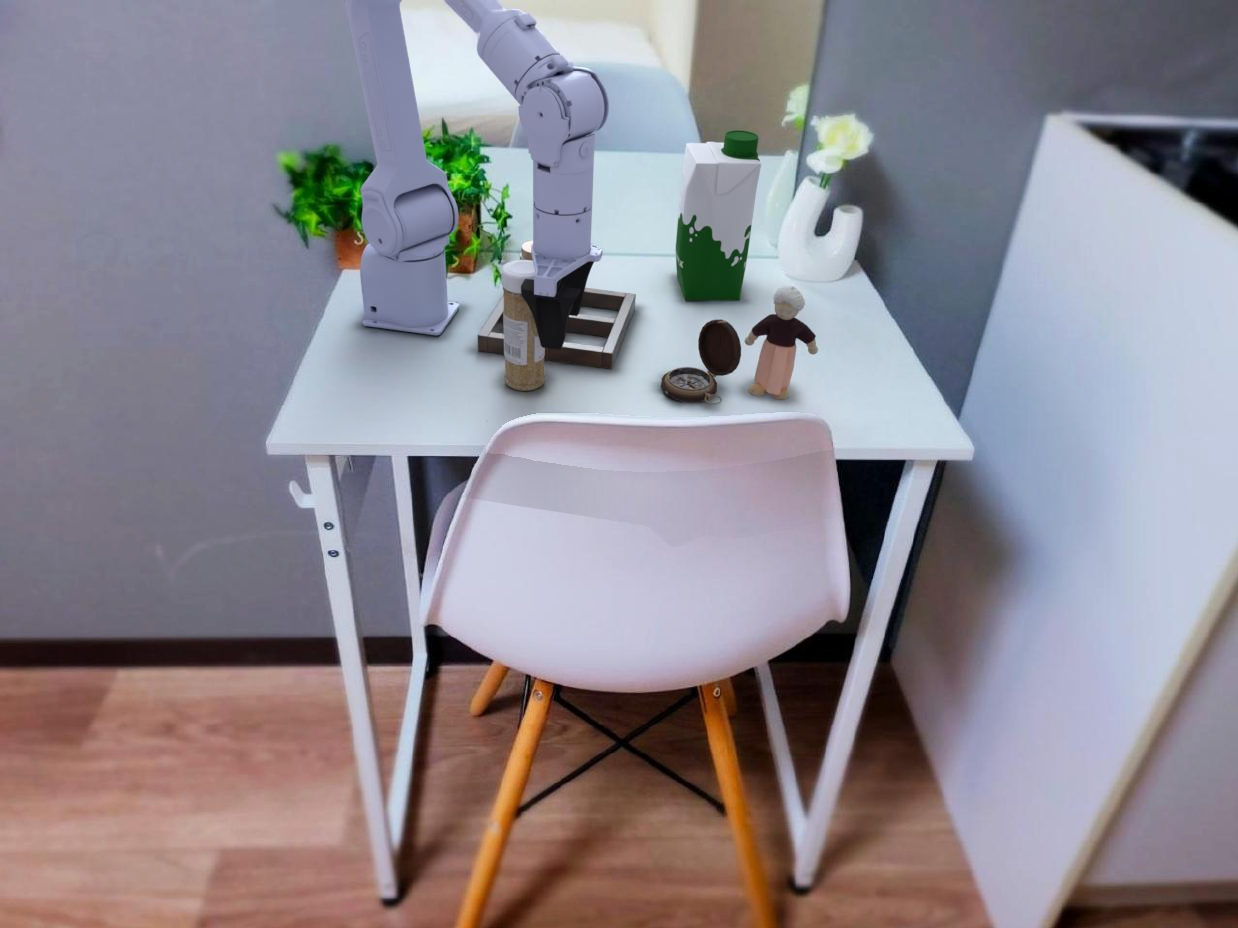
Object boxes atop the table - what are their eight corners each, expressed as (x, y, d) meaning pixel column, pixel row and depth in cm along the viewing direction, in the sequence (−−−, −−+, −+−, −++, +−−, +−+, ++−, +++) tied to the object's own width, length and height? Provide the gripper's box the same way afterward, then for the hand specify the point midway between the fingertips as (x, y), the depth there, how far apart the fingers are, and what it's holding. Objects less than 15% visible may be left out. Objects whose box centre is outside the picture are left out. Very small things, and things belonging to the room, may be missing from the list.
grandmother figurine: (739, 399, 107) (755, 292, 99) (738, 380, 110) (752, 276, 102) (810, 404, 107) (831, 297, 99) (806, 385, 110) (826, 281, 102)
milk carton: (748, 303, 126) (769, 147, 114) (678, 304, 125) (693, 146, 113) (734, 274, 133) (753, 124, 121) (668, 274, 132) (680, 123, 120)
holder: (477, 350, 112) (477, 335, 111) (514, 292, 125) (514, 278, 124) (611, 369, 110) (612, 353, 109) (635, 308, 123) (636, 293, 122)
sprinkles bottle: (553, 386, 107) (554, 271, 99) (516, 396, 105) (514, 280, 97) (532, 367, 110) (532, 254, 102) (496, 377, 108) (493, 263, 100)
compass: (648, 385, 108) (653, 326, 104) (703, 366, 112) (710, 308, 108) (695, 418, 103) (702, 358, 99) (750, 398, 107) (759, 338, 103)
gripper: (587, 237, 89) (583, 368, 96) (617, 184, 100) (611, 304, 108) (511, 228, 89) (513, 359, 97) (549, 176, 101) (548, 296, 109)
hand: (560, 330), depth 103 cm, fingers open, 7 cm apart
